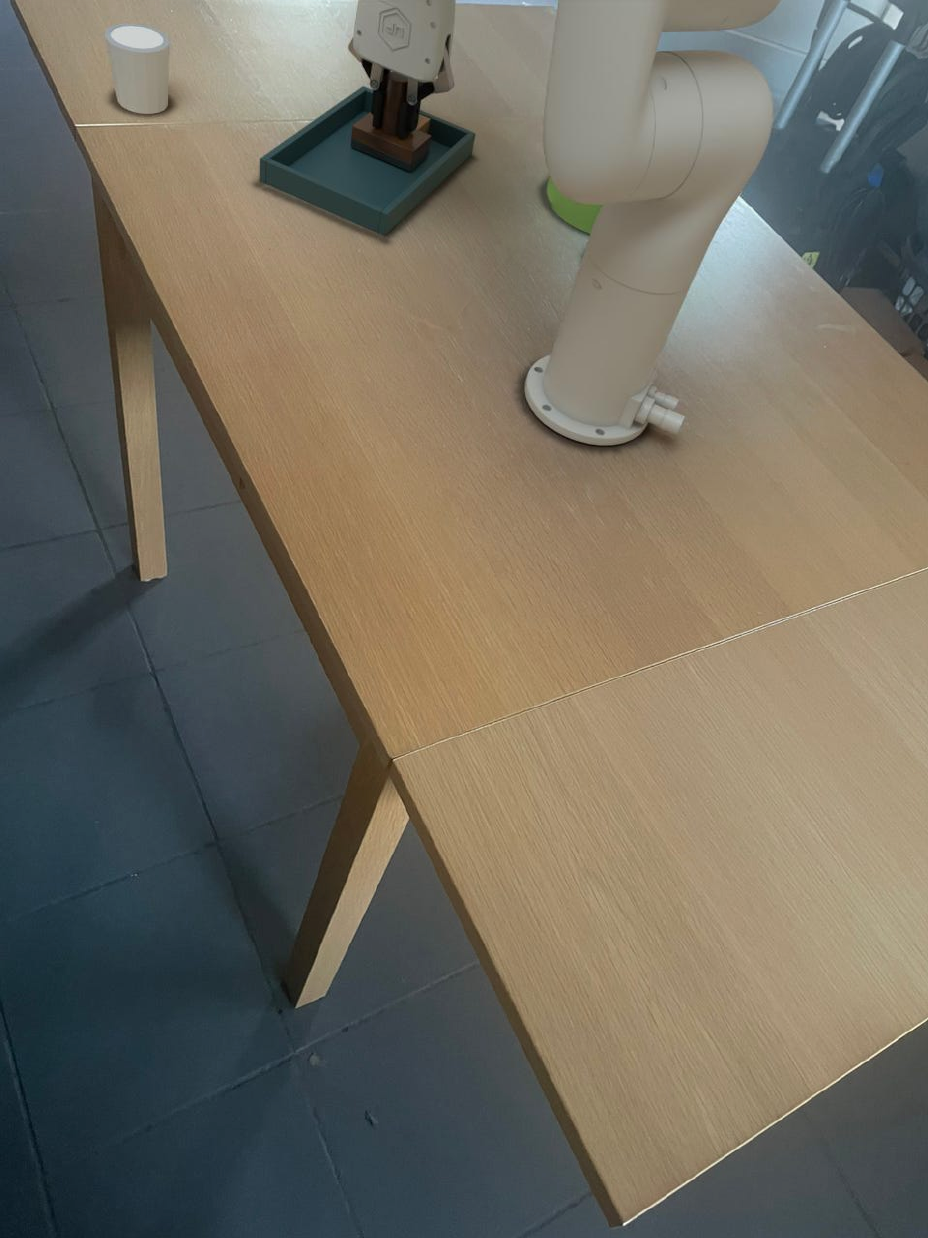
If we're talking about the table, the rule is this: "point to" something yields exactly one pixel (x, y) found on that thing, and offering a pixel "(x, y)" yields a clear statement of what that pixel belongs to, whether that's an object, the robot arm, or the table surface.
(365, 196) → the tray
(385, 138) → the stamp
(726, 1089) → the table surface
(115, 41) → the white cup
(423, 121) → the wooden block
